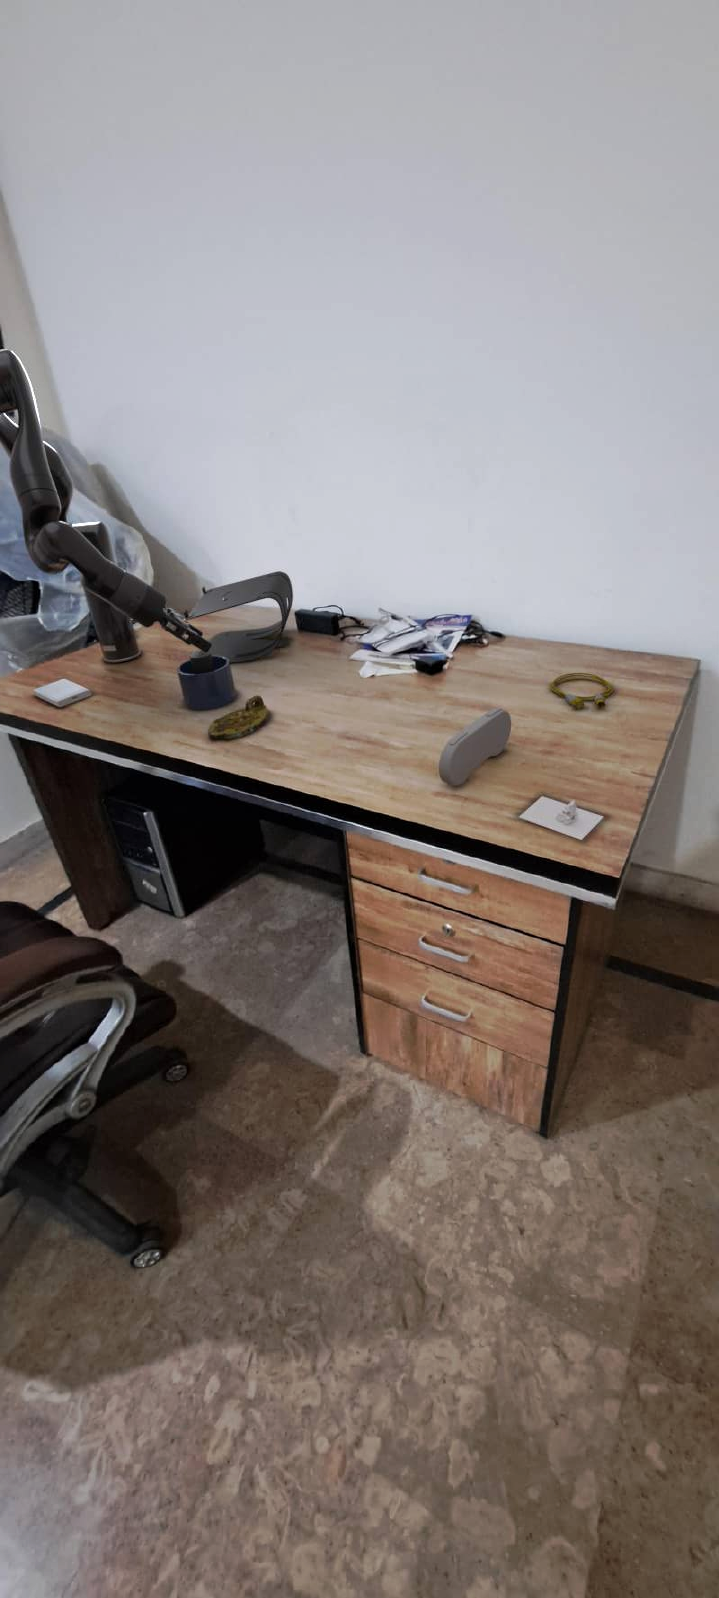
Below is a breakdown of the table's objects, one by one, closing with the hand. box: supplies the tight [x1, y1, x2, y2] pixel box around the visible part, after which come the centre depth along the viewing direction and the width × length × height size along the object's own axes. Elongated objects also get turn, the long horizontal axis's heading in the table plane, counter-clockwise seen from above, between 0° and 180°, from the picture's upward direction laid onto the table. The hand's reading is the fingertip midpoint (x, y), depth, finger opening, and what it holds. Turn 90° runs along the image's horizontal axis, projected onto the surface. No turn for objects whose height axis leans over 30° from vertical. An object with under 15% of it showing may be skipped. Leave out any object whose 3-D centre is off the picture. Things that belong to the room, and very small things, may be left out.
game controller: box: [438, 707, 512, 787], centre depth 112 cm, size 20×2×8 cm, turn 140°
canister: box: [189, 650, 215, 674], centre depth 145 cm, size 5×5×10 cm
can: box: [176, 655, 237, 711], centre depth 146 cm, size 11×11×8 cm
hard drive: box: [32, 678, 92, 708], centre depth 157 cm, size 2×8×12 cm
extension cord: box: [550, 672, 613, 710], centre depth 134 cm, size 12×16×2 cm
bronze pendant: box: [207, 694, 269, 740], centre depth 134 cm, size 9×5×15 cm
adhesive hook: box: [554, 799, 579, 825], centre depth 98 cm, size 3×3×3 cm
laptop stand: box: [183, 570, 294, 664], centre depth 172 cm, size 26×24×16 cm
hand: (204, 642), depth 142 cm, fingers open, 8 cm apart
